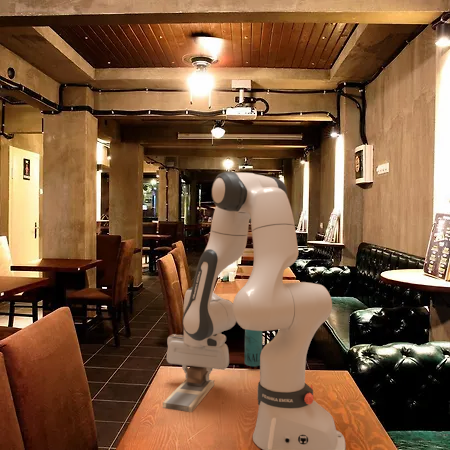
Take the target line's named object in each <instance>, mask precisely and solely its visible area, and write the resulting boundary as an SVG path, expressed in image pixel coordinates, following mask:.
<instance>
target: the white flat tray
mask: <svg viewBox="0 0 450 450" xmlns="http://www.w3.org/2000/svg"><path fill="white" fill-rule="evenodd" d="M214 386H215V379H209V380H208V381H206V382H205V383H204V384H203V385H202V386H201V387H197V386H190V385H187V379H186V378H185V380H183V381H182V383H181V384H180V385H178V386H177V388H176V389H174V390H173V391H172V393H171V394H169V396H168V397H167V398H165V400H164V401H163V402H162V409H168V410H176V411H182V412H189V413H193V412H194V411H195V409H196V408H197V407H198V405H199V404H200V403H201V401H203V399H204V398H205V397H206V396H207V394H208V393H209V392H210V391H211V389H212V388H213V387H214Z"/></svg>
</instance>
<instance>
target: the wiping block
mask: <svg viewBox="0 0 450 450" xmlns="http://www.w3.org/2000/svg"><path fill="white" fill-rule="evenodd" d="M188 367H189V368H188V369H187V385H190V386H197V387H201V386H202V385H203V384H204V383H205V382H206V381H203V379H204V378H203V375H204V374H207V372H208V371H206V368H204V367H196V366H188Z"/></svg>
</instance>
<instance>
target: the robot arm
mask: <svg viewBox="0 0 450 450" xmlns="http://www.w3.org/2000/svg"><path fill="white" fill-rule="evenodd" d="M211 199H212V200H213V203H214V205H215V209H214V210H213V215H212V220H211V224H210V225H211V226H210V233H209V238H208V242H207V245H206V246H205V249H204V251H203V252H202V254H201V255H200V258H199V260H198V264H197V267H196V270H195V275H194V279H193V283H192V286H191V287H190V288H189V287H188V288H187V290H186V291H185V294H184V299H183V313H182V314H183V315H182V321H181V322H182V328H183V334H176V333H172V334H170V335H169V336H168V337H167V343H166V344H167V352H166V362H167V363H168V364H171V365H179V366H182V367H181V368H182V370H183V372H184V373H185V380H186V379H187V369H188V367H191V366H196V367H204V368H206V371H208V372H207V374H204V375H203V378H204V379H203V381H208V380H210V375H211V372H212V371H213V370H222V371H223V370H225V369H227V368H228V366H229V364H230V354H229V352H230V351H229V347H228V345H227V343H225V342H226V341H227V336H226V335H225V334H222V332H224V331H228V330H231V329H232V328H233V327H235V325H236V324H237V325H238V326H240V328H242V329H243V330H245V329H247V330H255V331H262V332H265V331H268V332H269V331H276V330H278V331H277V333H276V335H275V336H274V337H273V339H272V340H271V341H269V342H268V343H266V344H265V345H263V347H262V351H261V355H260V365H259V381H258V383H257V384H258V385H257V394H256V395H257V405H258V412H257V419H256V423H255V427H254V431H253V433H252V441H253V442H254V444H255V445H256V446H257V447H258V448H259V449H262V450H347V449H346V447H347V446H346V438H345V437H344V435H343V434H342V432H340V430H337V428H336V425H335V424H336V423H335V420H334V417H333V415H331V413H330V412H329V411H327V410H326V409H325V408H324V407H323V406H321V405H320V403H318V402H316V401H315V399H314V398H315V397H314V386H313V384H311V385H310V386H309V384H307V383H306V366H307V365H306V363H307V354H308V350H309V347H310V344H311V341H312V339H313V338H314V336H315V334H316V333H317V331H318V330H319V328H320V327H321V326H322V325H323V324H324V322H326V321H327V320H328V319H329V317H330V316H331V313H332V310H333V301H332V300H333V299H332V297H331V295H330V292H329V291H328V289H327V288H326V287H325V286H324V285H322V284H320V283H313V282H306V281H301V282H300V281H299V282H298V281H297V282H284V283H283V277H284V272H285V270H286V269H288V268H290V267H291V266H292V265H293V264H294V263H295V262H296V261H297V259H298V256H299V247H298V239H297V238H298V237H297V232H296V226H295V225H296V224H295V220H294V219H295V218H294V215H293V210H292V206H291V203H290V199H289V198H288V190H287V185H286V184H285V183H284V182H283V180H281V179H279V178H277V177H274V176H265V175H262V174H257V173H253V172H235V171H225V172H221V173H219V174H217V176H216V177H215V178H214V180H213V182H212V186H211ZM249 225H250V227H251V238H252V247H253V265H252V269H251V272H250V275H249V277H248V280H247V281H246V282H245V284H244V285H243V287H241V289H240V290H239V291H238V292H237V293H236V294H235V297H234V299H233V301H231V300H229V299H225V298H223V297H221V296H219V295H218V294H216V293H215V292H214V289H215V285H216V281H217V279H218V276H219V275H221V273H222V272H223V271H224V270H225V269H226V268H228V267H229V266H230V265H231V264H233V263H235V262H237V261H238V260H239V259H241V257H243V254H244V252H245V249H246V246H247V243H248V242H247V241H248V235H249Z"/></svg>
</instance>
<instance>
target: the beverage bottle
mask: <svg viewBox="0 0 450 450" xmlns="http://www.w3.org/2000/svg"><path fill="white" fill-rule="evenodd" d="M263 347H264V345H263V331H255V330H247V329H244V354H243V355H244V356H243V357H244V359H243V360H244V364H245V365H246V366H250V367H260V355H261V351H262V349H263Z"/></svg>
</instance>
